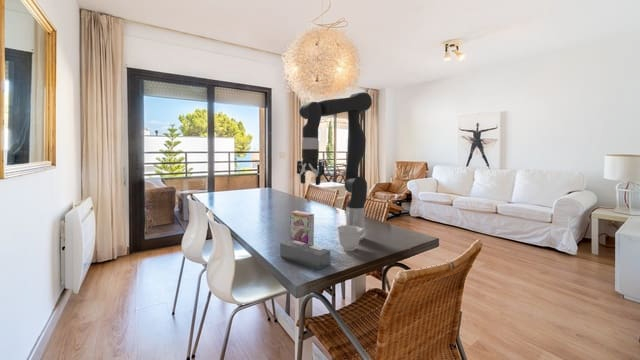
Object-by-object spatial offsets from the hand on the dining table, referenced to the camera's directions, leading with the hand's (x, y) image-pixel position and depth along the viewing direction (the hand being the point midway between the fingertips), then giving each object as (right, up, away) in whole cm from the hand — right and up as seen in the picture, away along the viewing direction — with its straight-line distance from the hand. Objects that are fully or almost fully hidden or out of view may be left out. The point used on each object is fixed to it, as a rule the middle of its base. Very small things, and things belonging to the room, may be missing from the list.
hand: (310, 184), depth 127 cm
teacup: (+20, -31, +6) cm, 37 cm away
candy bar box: (-4, -30, +10) cm, 32 cm away
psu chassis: (-2, -32, -8) cm, 33 cm away
